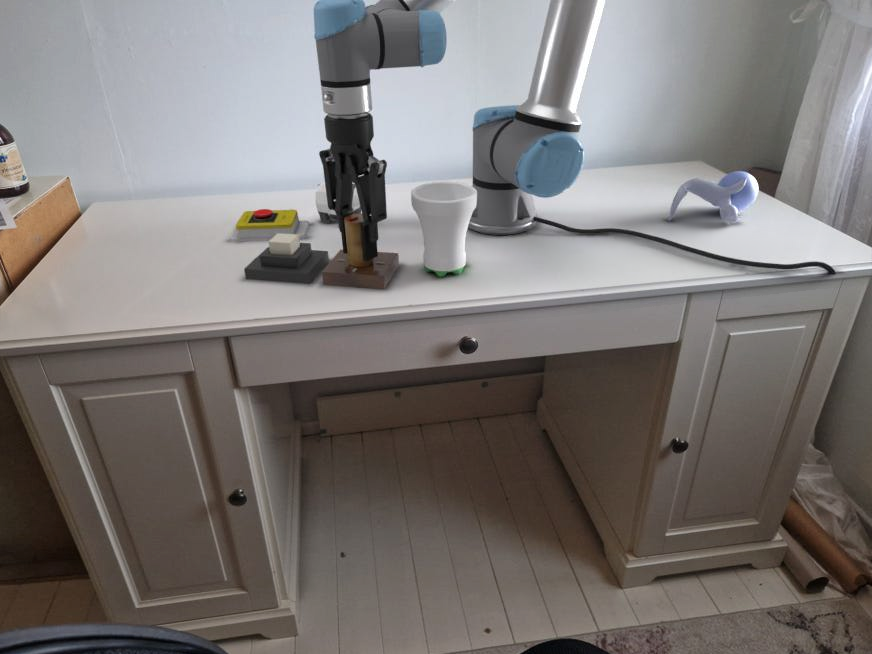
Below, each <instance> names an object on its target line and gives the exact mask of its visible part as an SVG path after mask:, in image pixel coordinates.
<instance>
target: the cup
mask: <svg viewBox="0 0 872 654" xmlns="http://www.w3.org/2000/svg"><path fill="white" fill-rule="evenodd" d="M410 199H411V207H412V209H413V211H414V212H415V214H416V216H417V219H418V221H419V225H420V228H421V232H422V237H423V246H424V247H423V249H424V251H423V254H422V259H423V260H422V261H423V262H422V263H423V268H424V270H425V272H426V273H432V272H434V273H435V275H436V276H438V277H439V278H440V277H441V278H442V277H445V276H446V275H447V274H448V273H452V274H454V275H461V273H462V271H463V269H464V267H465V266H466V265H467V253H466V250H465V249H466V247H465V246H466V245H465V244H466V236H467V231H468V229H469V228H468V224H469V221H470V218H471V215H472V213H473V211H474V209H475V208H476V205H477V191H476V189H475V188H474V187H472V185H470V184H468V183H463V182H458V181H457V182H455V181H433V182H427V183H424V184H420V185H418V186H415V187H414V188H413V189H411V192H410Z"/></svg>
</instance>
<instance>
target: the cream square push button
mask: <svg viewBox="0 0 872 654" xmlns="http://www.w3.org/2000/svg"><path fill="white" fill-rule="evenodd" d="M300 243H301V242H300V240H299V235H297V234H280V233H278V234H276V235H275V236H274V237H273V238H272V239H271V240H270V241H268V247H270V253H271V254H282V255H293V254H294V253H295V252H296V251H297V250H298V249H299V248H300Z"/></svg>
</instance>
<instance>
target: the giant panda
mask: <svg viewBox="0 0 872 654" xmlns="http://www.w3.org/2000/svg"><path fill="white" fill-rule="evenodd" d="M334 201H336V199H335V200H334ZM315 206H316V210H317V214H318V215H319V219H320V222H321V223H324V224H331V223H333V219H337V220H338V216H337V215H336V213H335V211H334V210H330V209H329V208H328V203H327V195H326V187H325V180H324V181H323V182H321V183H318V185H317V186H316V191H315ZM351 208H352V209H353V211H351V212H348V213H349V214H350V213H353V214H362V211H361V207H360V202H359V198H358V194H357V190H356V185H355V183H352V195H351Z"/></svg>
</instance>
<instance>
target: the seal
mask: <svg viewBox="0 0 872 654" xmlns="http://www.w3.org/2000/svg"><path fill="white" fill-rule="evenodd" d="M688 193H691V194H692V195H695V196H696V197H699V198H700V199H702V200H703V201H706V202H708V203H710V204H711V205H712V206H713V207H719V216H720V218H721V219H722V220H723V221H725V222H728V223H737V224H738V222H737V221H738V220H739V218H741V217H740V216H741V215H743V212H742V213H740V214H739V211H744V210H745V209H747V208H749V207H750V206H752V204H753V203H754V202H755V201H756V199H757V197H758V195H759V183H758V181H757V180H756V178H755V176H753V175H752V174H750V173H749V172H747V171H742V170H739V171H737V170H736V171H732V172H729V173H727V174H726V175H724V176H723V177H722V178H721V179H720V180H719V181H718V183H717V182H715V181H713V180H709V179H706V178H700V177H699V178H692V179H689V180H686V181H685V182H684V183H683V184H681V185H680V186H679V187H678V189H677V191H676V192H675V195H674V196H673V199H672V202H671V206H670V210H669V215H668V218H667V220H668V221H669V222H670V221H672V219H673V217H674V216H675V214H676V211H677V208H678V207H679V205H680V203H681V202H682V200H683V199H684V198H685V197H686V196H687V195H688Z"/></svg>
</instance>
